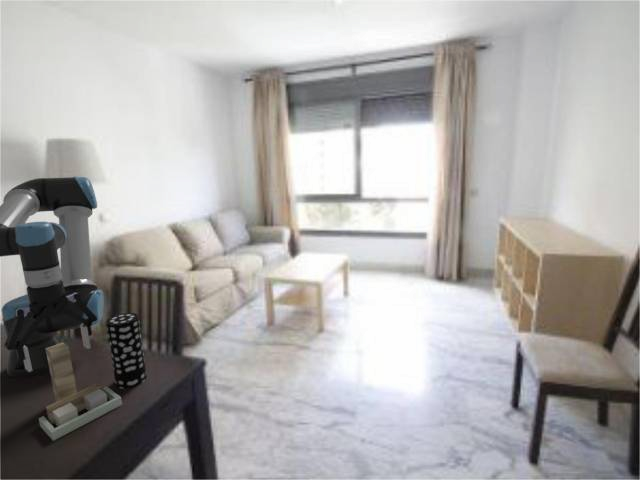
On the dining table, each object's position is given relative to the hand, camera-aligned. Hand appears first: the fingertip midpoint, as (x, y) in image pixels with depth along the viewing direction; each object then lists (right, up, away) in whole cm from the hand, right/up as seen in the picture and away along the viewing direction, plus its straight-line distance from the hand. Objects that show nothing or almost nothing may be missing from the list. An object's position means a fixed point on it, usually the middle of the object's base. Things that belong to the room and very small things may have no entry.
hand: (59, 358), depth 99 cm
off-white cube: (+6, -15, -6) cm, 17 cm away
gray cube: (+10, -13, 0) cm, 17 cm away
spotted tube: (+13, -11, +12) cm, 21 cm away
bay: (+8, -14, -3) cm, 17 cm away
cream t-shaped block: (+3, -13, +1) cm, 13 cm away
